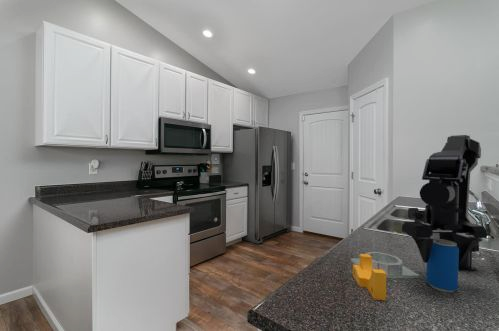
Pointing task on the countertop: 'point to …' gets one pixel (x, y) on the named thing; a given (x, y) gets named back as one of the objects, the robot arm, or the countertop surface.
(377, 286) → the pipe clamp
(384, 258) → the duct collar
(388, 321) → the countertop surface
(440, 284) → the beverage can
